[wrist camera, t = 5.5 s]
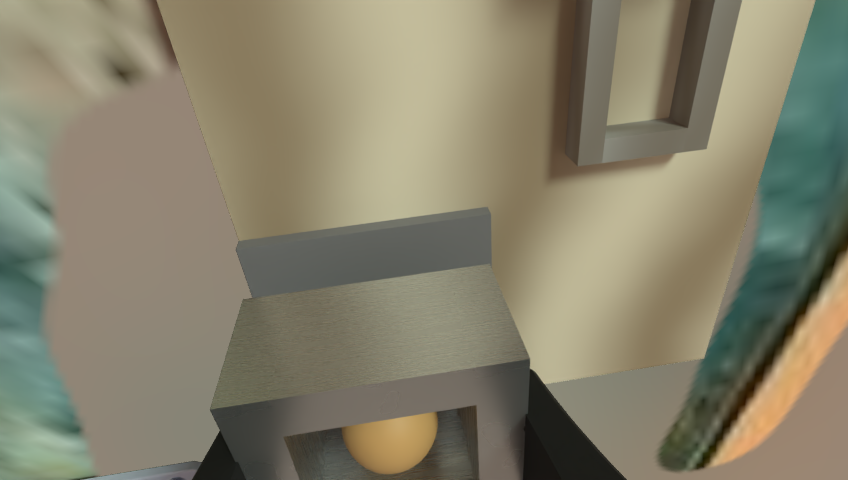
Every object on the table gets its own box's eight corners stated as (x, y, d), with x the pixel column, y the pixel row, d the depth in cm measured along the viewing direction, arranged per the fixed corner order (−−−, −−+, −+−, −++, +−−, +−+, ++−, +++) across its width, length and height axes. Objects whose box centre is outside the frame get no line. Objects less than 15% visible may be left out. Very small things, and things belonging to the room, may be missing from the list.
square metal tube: (298, 452, 14) (287, 568, 11) (243, 299, 11) (210, 409, 8) (492, 420, 14) (522, 525, 12) (489, 263, 11) (530, 358, 9)
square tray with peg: (295, 407, 16) (277, 566, 12) (238, 241, 12) (185, 385, 8) (490, 376, 16) (535, 519, 12) (487, 206, 13) (549, 328, 9)
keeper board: (304, 399, 17) (294, 493, 14) (46, -394, 7) (-147, -605, 4) (687, 338, 18) (751, 415, 15) (903, -442, 8) (1198, -645, 5)
